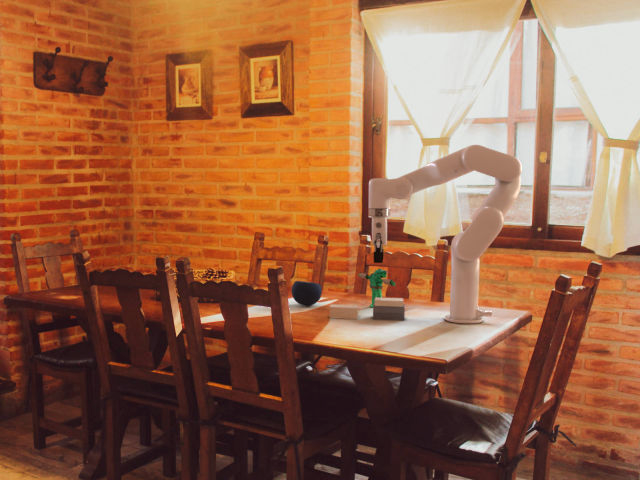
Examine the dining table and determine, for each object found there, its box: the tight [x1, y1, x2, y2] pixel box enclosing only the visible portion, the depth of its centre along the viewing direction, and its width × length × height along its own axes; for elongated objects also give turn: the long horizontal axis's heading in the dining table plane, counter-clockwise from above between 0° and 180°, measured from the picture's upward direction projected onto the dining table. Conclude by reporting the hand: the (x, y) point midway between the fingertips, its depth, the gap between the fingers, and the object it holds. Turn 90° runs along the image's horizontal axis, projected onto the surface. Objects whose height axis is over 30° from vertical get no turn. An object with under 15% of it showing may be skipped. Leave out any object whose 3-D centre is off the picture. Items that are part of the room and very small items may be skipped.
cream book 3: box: [375, 297, 404, 307], centre depth 268 cm, size 10×6×2 cm, turn 78°
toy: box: [358, 268, 396, 309], centre depth 288 cm, size 26×6×15 cm, turn 22°
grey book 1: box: [372, 303, 406, 313], centre depth 269 cm, size 11×5×2 cm, turn 78°
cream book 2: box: [328, 312, 359, 320], centre depth 272 cm, size 10×6×2 cm, turn 78°
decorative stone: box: [291, 280, 323, 307], centre depth 294 cm, size 12×12×10 cm
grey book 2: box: [372, 311, 405, 321], centre depth 269 cm, size 11×5×2 cm, turn 78°
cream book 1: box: [329, 303, 359, 314], centre depth 272 cm, size 10×6×2 cm, turn 79°
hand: (378, 261), depth 268 cm, fingers open, 9 cm apart
